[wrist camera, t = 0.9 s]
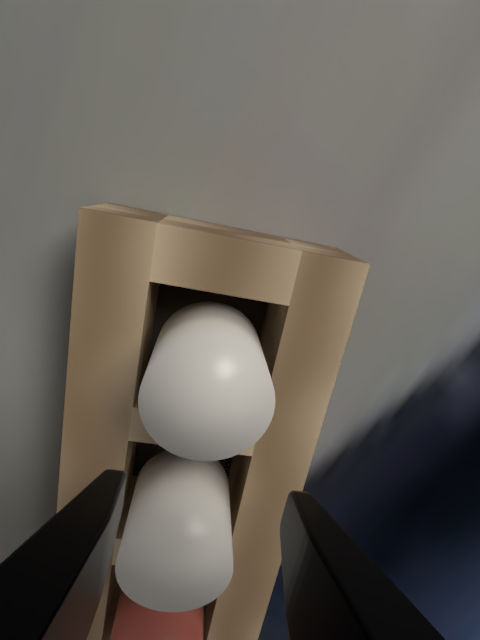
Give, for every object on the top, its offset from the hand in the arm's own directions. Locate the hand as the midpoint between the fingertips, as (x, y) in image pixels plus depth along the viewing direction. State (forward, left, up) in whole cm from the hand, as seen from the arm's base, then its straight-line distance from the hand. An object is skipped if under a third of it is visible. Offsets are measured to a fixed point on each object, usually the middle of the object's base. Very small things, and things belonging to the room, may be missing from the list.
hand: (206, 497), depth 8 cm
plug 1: (0, 0, -8) cm, 8 cm away
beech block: (0, +6, -11) cm, 13 cm away
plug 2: (0, +6, -8) cm, 10 cm away
